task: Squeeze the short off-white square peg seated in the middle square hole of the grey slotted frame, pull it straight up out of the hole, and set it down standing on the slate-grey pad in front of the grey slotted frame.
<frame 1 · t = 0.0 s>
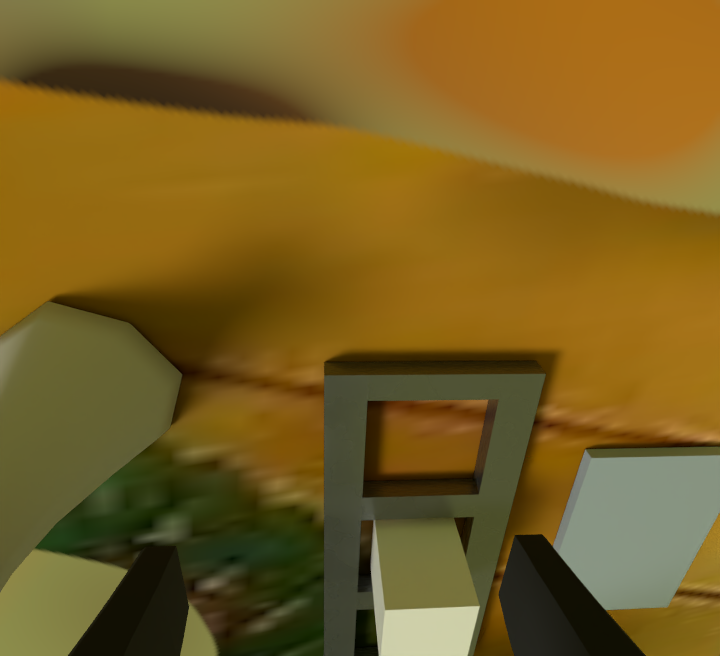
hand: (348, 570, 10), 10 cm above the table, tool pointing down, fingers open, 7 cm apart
pad: (627, 532, 26), on the table
flask: (92, 380, 20), on the table
peg: (417, 582, 23), in the grey slotted frame
grey slotted frame: (410, 539, 25), on the table
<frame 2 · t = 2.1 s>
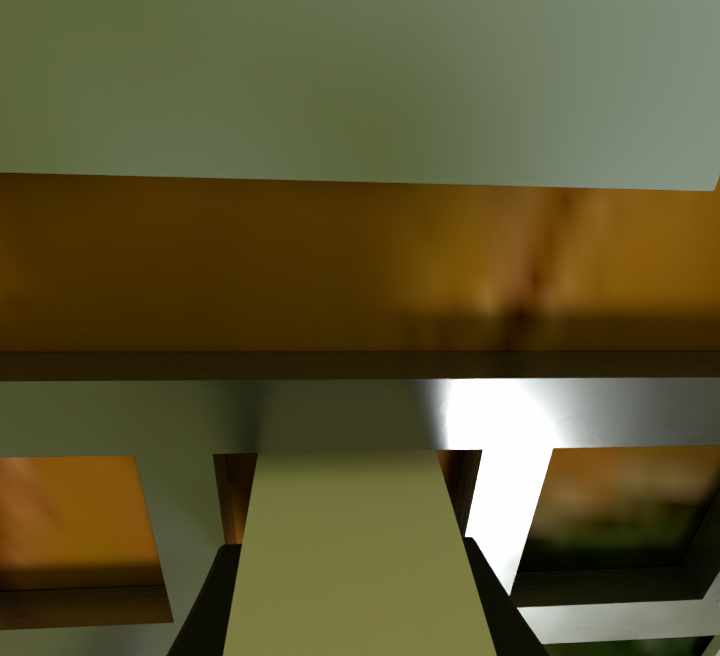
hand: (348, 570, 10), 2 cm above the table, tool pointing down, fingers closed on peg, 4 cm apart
peg: (350, 606, 10), in the grey slotted frame, touching gripper
grey slotted frame: (345, 508, 12), on the table
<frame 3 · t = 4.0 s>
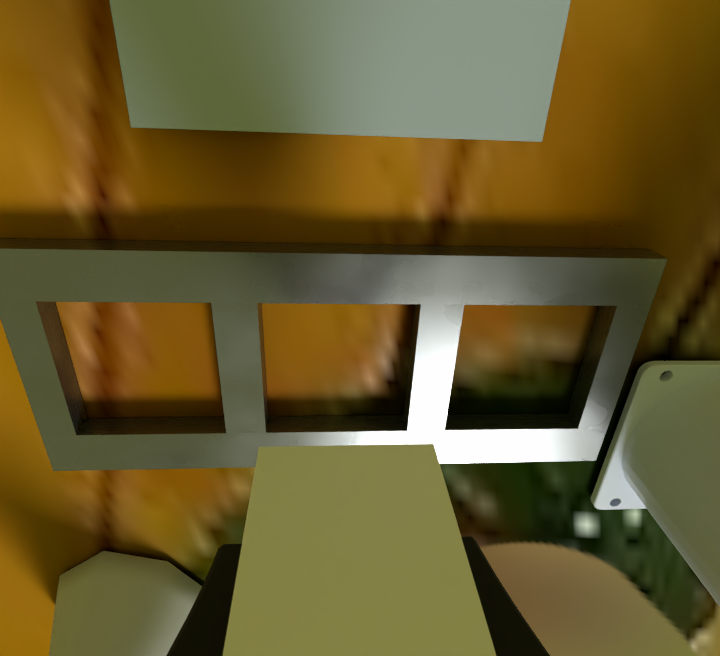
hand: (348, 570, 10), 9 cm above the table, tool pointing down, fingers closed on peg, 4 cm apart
flask: (135, 591, 24), on the table
peg: (350, 605, 10), point 10 cm above the table, touching gripper
grey slotted frame: (337, 358, 18), on the table
when the fingers open (3 cm above the table, at t = 6.2 s): peg stays where it is, resting on pad.
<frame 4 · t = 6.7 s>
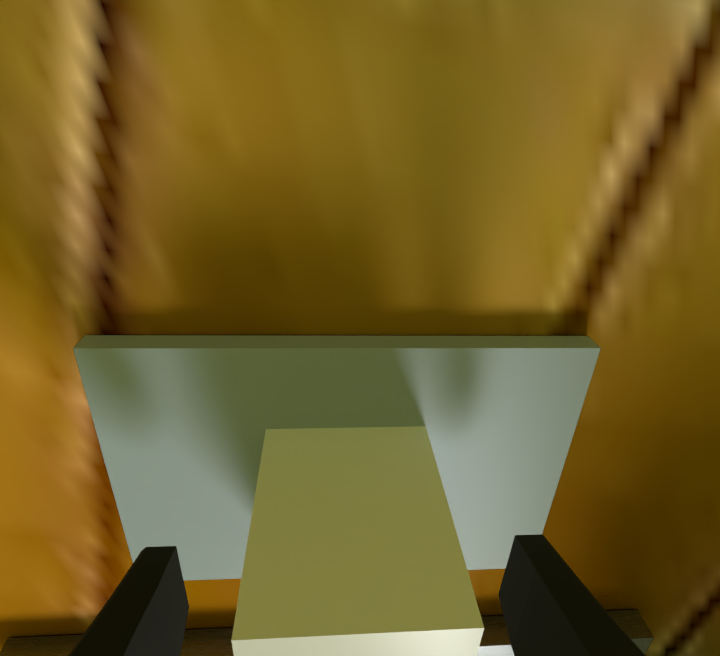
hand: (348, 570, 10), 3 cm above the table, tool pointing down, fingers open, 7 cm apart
pad: (343, 461, 13), on the table
peg: (349, 570, 11), on the pad, point 3 cm above the table
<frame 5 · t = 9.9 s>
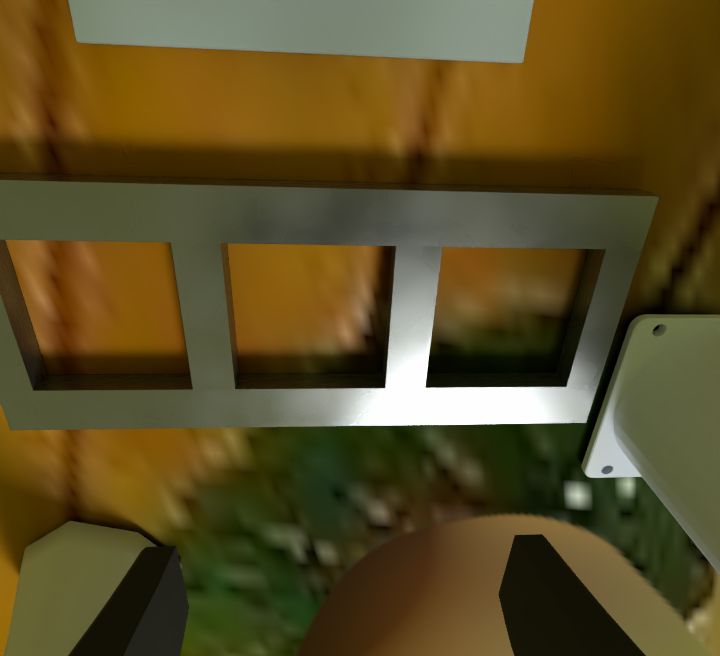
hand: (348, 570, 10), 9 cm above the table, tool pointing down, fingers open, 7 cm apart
flask: (106, 566, 23), on the table
grey slotted frame: (311, 309, 17), on the table
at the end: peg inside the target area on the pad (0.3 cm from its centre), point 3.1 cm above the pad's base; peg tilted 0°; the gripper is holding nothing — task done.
